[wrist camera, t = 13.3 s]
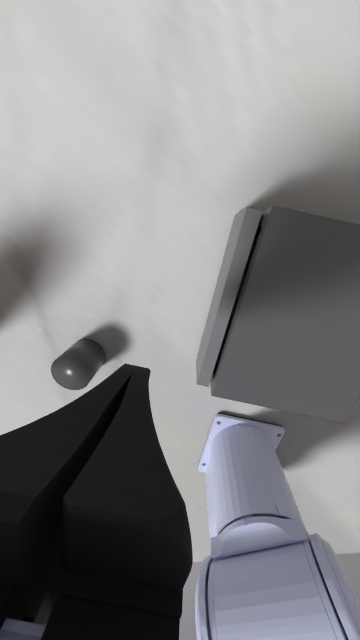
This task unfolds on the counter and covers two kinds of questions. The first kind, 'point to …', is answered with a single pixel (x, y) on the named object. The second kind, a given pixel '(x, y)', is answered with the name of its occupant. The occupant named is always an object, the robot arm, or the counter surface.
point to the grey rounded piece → (78, 364)
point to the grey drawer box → (297, 319)
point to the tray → (227, 291)
